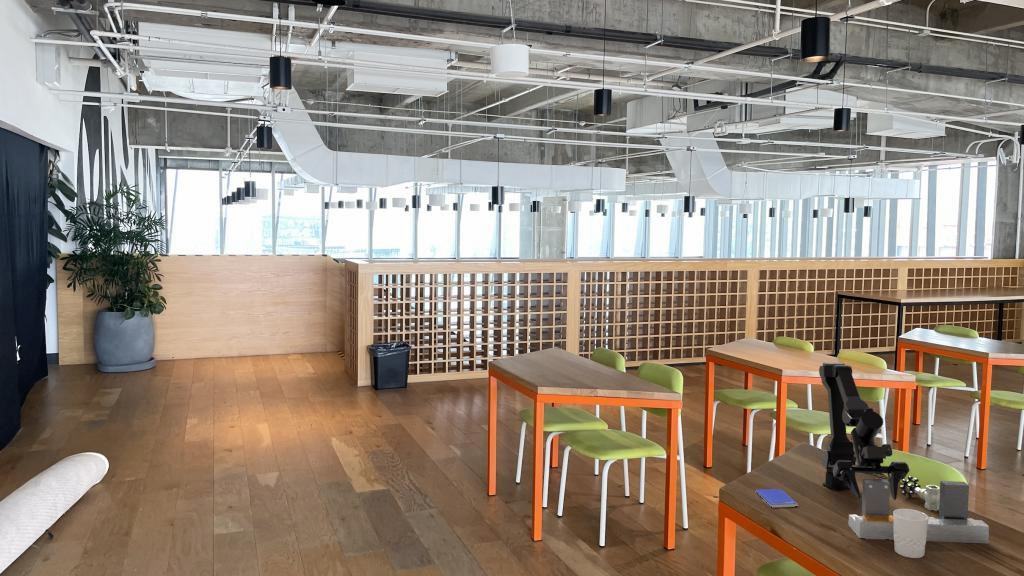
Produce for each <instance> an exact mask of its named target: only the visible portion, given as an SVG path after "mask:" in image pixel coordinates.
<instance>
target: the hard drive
mask: <svg viewBox="0 0 1024 576" xmlns="http://www.w3.org/2000/svg"><path fill="white" fill-rule="evenodd" d="M754 492H757V493H758V494H759V495H760V496H761V497H762V498H763V499H764V500H765V501H766V502H767V503H768V504H769V505H770V506H772V508H792V507H793V508H794V507H795V506H798V507H799V503H797V502H796V501H795V500H794V499H793V498H792V497H791V496H789V495H788V494H787V493H786V492H785V491H784V490H782V489H781V488H772V489H768V488H766V489H765V488H764V489H763V488H762V489H755V491H754ZM763 499H762V500H763ZM764 500H763V501H764ZM765 501H764V502H765ZM766 502H765V503H766ZM767 503H766V504H767ZM768 504H767V505H768ZM769 505H768V506H769ZM770 506H769V507H770ZM795 508H796V507H795Z"/></svg>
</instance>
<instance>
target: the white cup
mask: <svg viewBox="0 0 1024 576" xmlns="http://www.w3.org/2000/svg"><path fill="white" fill-rule="evenodd" d="M892 513H893V514H892V516H893V533H894V540H893V542H894V543H893V544H894V545H893V546H894V547H893V548H894V552H895V553H896V554H898V555H900V556H902V557H905V558H911V559H920V558H923V557H925V551H926V544H927V541H926V537H927V527H928V517H929V515H927V514H926V513H925V512H922V511H920V510H915V509H912V508H897V509H894V510H893V512H892Z"/></svg>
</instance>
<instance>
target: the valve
mask: <svg viewBox="0 0 1024 576" xmlns="http://www.w3.org/2000/svg"><path fill="white" fill-rule="evenodd" d="M919 481H920V480H919V479H918V478H917V477H913V476H911V475H909V476H907V479H905V478H904V479H902V480H901V482H902V483H903V485H899V486H898V487H899V489H900V490H903V491H902V492H901V495H902V496H903V497H906V496H907V498H910V497H912V498H913V495H915V496H917V495H919V498H921V499H922V500H924V501H925V502H924V508H925V509H926V508H927V509H926V510H928V511H931V510H934V511H933V512H938V511H939V501H940V486H937V485H934V484H926V486H925V488H921V485H920V484H919ZM917 482H918V483H917ZM912 483H913V484H912ZM907 489H908V490H909V491H908V490H907ZM910 499H911V498H910ZM937 510H938V511H937Z"/></svg>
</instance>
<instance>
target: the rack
mask: <svg viewBox="0 0 1024 576" xmlns="http://www.w3.org/2000/svg"><path fill="white" fill-rule="evenodd" d="M939 482H940V483H939V484H940V485H939V487H940V501H939V510H938V518H935V517H934V516H928V527H927V537H926V542H936V543H937V542H940V543H942V542H944V543H967V544H969V543H970V544H972V543H973V544H989V539H990V538H989V535H990V526H989V525H988V524H987V523H986V522H984V521H983V520H980V519H974V518H973V517H972V518H968V517H969V499H970V498H969V497H970V485H969V484H968V483H967V482H965V481H954V480H953V481H952V480H940V481H939ZM847 523H848V524H847V525H848V527H850V529H851V530H852V531H853V532H854V533H856V534H855V535H856V536H857V537H858V539H859V538H865V540H885V539H889V540H890V541H891V540H892V541H894V533H893V515H889V516H887V515H863V516H862V515H858V514H854V513H853V514H852V513H851V514H848V522H847ZM889 540H888V541H889Z"/></svg>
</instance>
